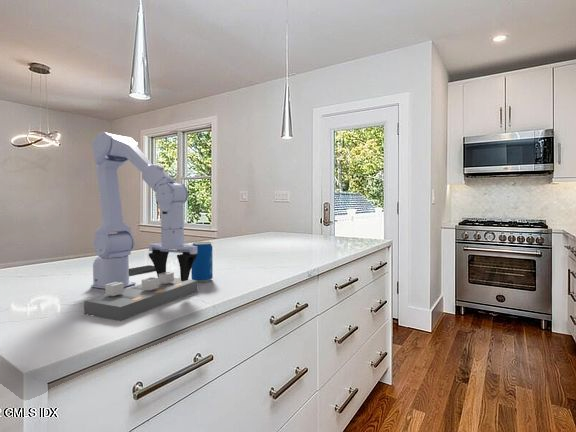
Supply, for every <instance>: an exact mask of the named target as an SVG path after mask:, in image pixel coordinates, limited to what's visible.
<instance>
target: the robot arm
mask: <svg viewBox="0 0 576 432" xmlns="http://www.w3.org/2000/svg"><path fill="white" fill-rule="evenodd" d="M92 149H93V157H94V163H95V167H96V169H95V170H96V171H95V172H96V178H97V187H98V194H99V195H98V196H99V203H100V211H101V221H102V224H101V225H100V226H99V227H97V229H95V231H94V232H93V233H94V240H93V250H94V252H95V253H96V255H97V257H96V258H95V259H94V260H93V263H92V275H93V276H92V279H93V281H92V284H90V288H97V289H104V290H105V285H106V284H110V283H114V282H121V283H124V288H127V287H129V286H133V285H134V286H135V285H136V284H137V283H136V282H134V281H130V276H129V269H130V267H129V256H131V255H132V253H131V252H132V251H133V250H134V248H135V244H136V243H135V238H134V236H133V233H132V228H131V227H130V226H129V225H128V224H127V223H125V222H124V218H123V217H124V216H123V210H122V202H121V194H120V193H121V191H120V186H119V184H120V183H119V176H118V169H119V168H120V167H122V166H123V165H125V164H126V163H127V162H128V161H129V162H130V163H131V164H132V165H134V166H135V167H136V168H137V169H138V170H139V171H140V172H141V174H142V175H141V178H142V180H143V181H144V182H145V183H146V184H147V185H148V187H150V189H151V190H152V191H153V192H154V193H155V194H154V195H155V200H156V201H157V203H158V209H159V211H160V231H161V233H160V236H161V237H160V238H161V239H160V242H161V243H160V242H159V243H157V242H155V243H149V244H148V252H149V253H148V257H149V259H150V261H151V262H152V263H153V266H155V269H156V271H155V272H156V277H157V278H158V279H159V274H160V273H164V272H167V261H168V257H169V253H178V254H176V258H177V261H178V264H179V270H180V271H179V273H180V274H179V275H180V277H179V278H180V279H181V281H186V280H189V279H190V274H191V267H192V265H193V262H194V260H195V259H196V257H197V254H196V253H197V246H192V245H193V244H192V245H191V244H186V243H185V241H184V240H185V234H184V233H185V226H184V225H185V224H184V223H185V220H184V219H185V217H184V215H185V214H184V211H185V210H184V209H185V208H184V206H185V205H184V204H185V203H186V202H187V201H188V200H189V199H188V198H189V191H188V188H187V187H186V185H185V184H184V183H181V182H177V181H176V180H175V179H174V177H173V176H170V174H169V173H168V172H166V171H165V170H164V169H165V167H164V166H163V165H159V164H155V163H154V164H153V163H152V162H151V161H150V160H149V158H147V156H146V155H145V154H144V152H143V151H142V150H141V149H140V147H139V143H138V142H137V141H135V139H134V138H132V137H131V136H123V135H119V134H113V133H108V132H107V131H101V132H99V133H97V134H96V136H95V137H94V140H93V141H92Z"/></svg>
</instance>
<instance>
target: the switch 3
mask: <svg viewBox="0 0 576 432" xmlns="http://www.w3.org/2000/svg"><path fill="white" fill-rule="evenodd" d="M174 276H175V275H174V272H171V271H166V272H164V273H160V274H159V283H164V284H167V283H170V282H173V281H174V278H175V277H174Z"/></svg>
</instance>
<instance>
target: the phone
mask: <svg viewBox="0 0 576 432" xmlns="http://www.w3.org/2000/svg"><path fill="white" fill-rule="evenodd" d="M150 272H156V269H155V266H154V265H149V264H148V265H143V266H138V267H131V268H130V267H129V277H131V276H137V275H141V274H147V273H150Z"/></svg>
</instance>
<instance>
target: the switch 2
mask: <svg viewBox="0 0 576 432" xmlns="http://www.w3.org/2000/svg"><path fill="white" fill-rule="evenodd" d="M141 284H142V290H149V291H150V290H153V289H156V288H158V277H147V278H144V279H141Z"/></svg>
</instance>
